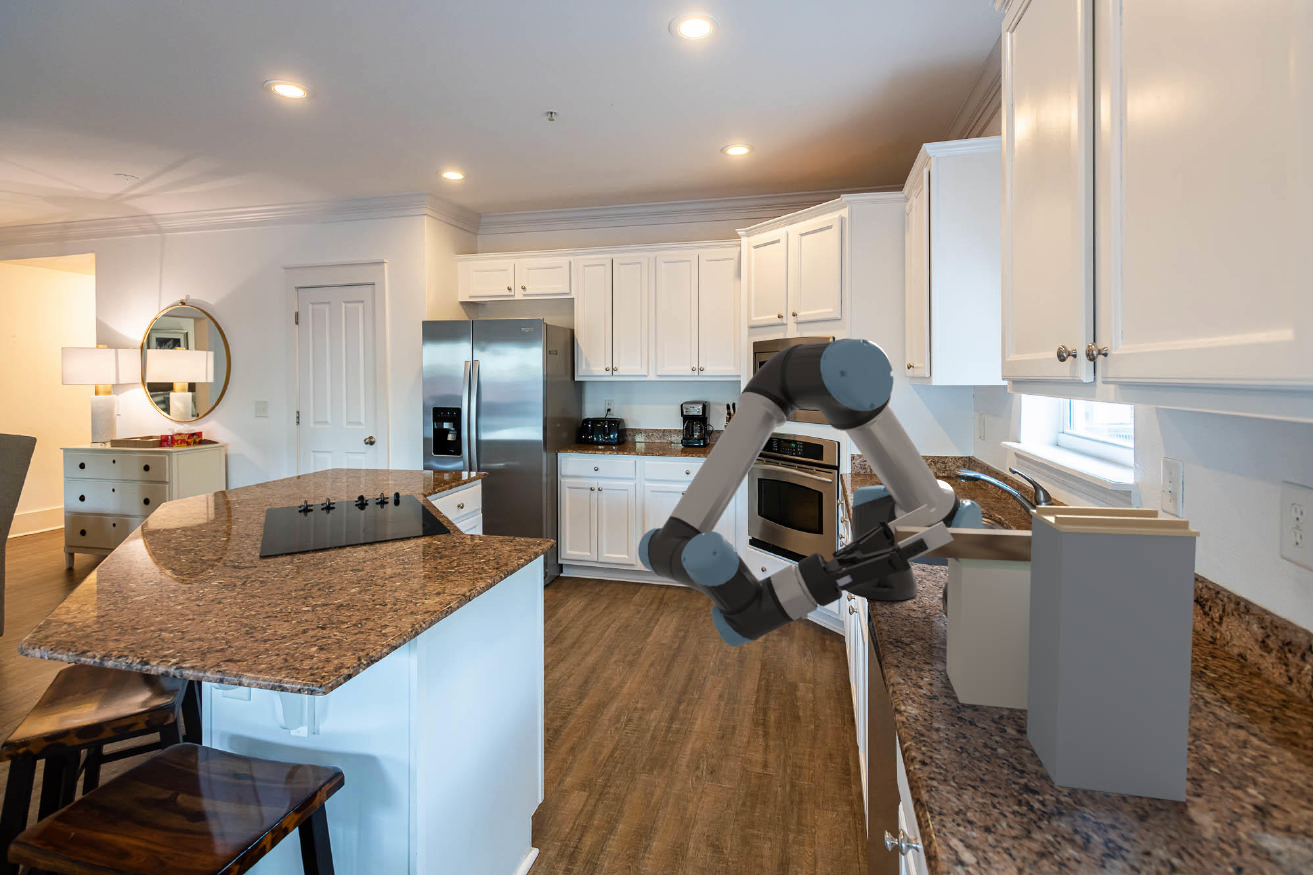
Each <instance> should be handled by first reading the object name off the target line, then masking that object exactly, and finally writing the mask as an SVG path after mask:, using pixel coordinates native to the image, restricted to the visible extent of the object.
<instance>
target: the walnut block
mask: <svg viewBox="0 0 1313 875" xmlns="http://www.w3.org/2000/svg"><path fill="white" fill-rule="evenodd" d="M927 528H929V527H910V526H895V531H894V547H897V546H899V545H898V543H899V542H901V541H903V540H905V539H907V538H909V537H911V536H913V535H915V534H917V533H919V532H921V531H923V530H925V529H927ZM947 529H948V531H949V533H950V534H951V536H952V538H953V539H954V540H953V541H951V542H949V543H947V544H945V545H943V546H940V547H938V548H936V549H934V550H932V551H930V552H928V553H926V554H924V555H922V556H920V557H921V558H922V557H925V558H940V559H941V558H942V559H946V558H962V559H984V560H1007V561H1029V562H1031V540H1032V530H1029V529H1028V530H1026V529H1025V530H1024V529H1023V530H1021V529H993V528H991V529H990V528H982V529H969V528H947ZM899 548H900V547H899ZM920 557H919V558H920Z"/></svg>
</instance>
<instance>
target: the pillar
mask: <svg viewBox="0 0 1313 875" xmlns="http://www.w3.org/2000/svg"><path fill="white" fill-rule="evenodd" d="M1029 514H1030V515H1031V531H1032V540H1031V582H1030V624H1029V666H1028V708H1027V710H1026V712H1027V713H1026V714H1027V715H1026V716H1027V717H1026V739H1027V740H1028V742H1029V743H1030V746H1031V747H1032V749H1033V750H1034V753H1036V756H1037V757H1038V758H1039V760H1040V762H1041V764H1042V765H1043V767H1044V769H1045V770H1046V772H1047V773H1048V775H1049V777H1050V779H1051V780H1052V782H1053V784H1054V785H1055V786H1057V787H1064V788H1065V787H1067V788H1073V789H1080V790H1087V791H1088V790H1090V791H1096V792H1097V791H1098V792H1104V793H1105V792H1106V793H1111V794H1118V795H1119V794H1121V795H1129V796H1135V797H1136V796H1137V797H1144V798H1153V799H1160V800H1168V801H1174V802H1175V801H1176V802H1184V803H1186V801H1187V800H1186V796H1187V795H1186V794H1187V777H1188V776H1187V774H1188V773H1187V772H1188V750H1189V749H1188V748H1189V725H1190V724H1189V722H1190V719H1189V718H1190V703H1191V702H1190V699H1191V698H1190V696H1191V676H1192V675H1191V674H1192V673H1191V672H1192V649H1193V625H1194V624H1193V622H1194V599H1195V576H1196V575H1195V574H1196V550H1197V537H1201V536H1200V535H1201V531H1199V530H1196V529H1193V528H1191V527H1190V520H1189V519H1185V518H1166V517H1165V518H1163V517H1160V516H1159V510H1158V509H1155V508H1140V507H1138V508H1137V507H1136V508H1135V507H1108V506H1107V507H1106V506H1104V507H1103V506H1072V505H1069V506H1066V505H1064V506H1063V505H1035V509H1029Z"/></svg>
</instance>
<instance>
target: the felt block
mask: <svg viewBox="0 0 1313 875" xmlns="http://www.w3.org/2000/svg"><path fill="white" fill-rule="evenodd" d="M947 582H948V599H947V618H946V620H947V621H946V662H945V663H946V669H945V670H946V675H947V677H948V679H949V681H950V684H951V687H953V691H954V694H956V697H957V699H958V702H959V703H960V704H967V705H975V706H986V707H995V708H996V707H997V708H1006V709H1007V708H1008V709H1017V710H1026V711H1027V708H1028V666H1029V624H1030V582H1031V562H1029V561H1007V560H984V559H962V558H948V559H947Z"/></svg>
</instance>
